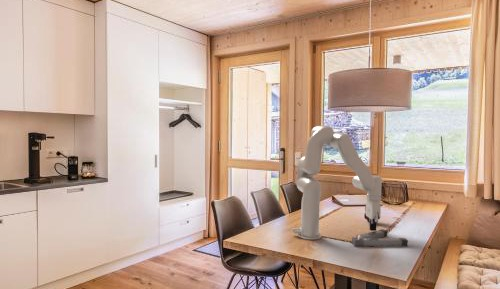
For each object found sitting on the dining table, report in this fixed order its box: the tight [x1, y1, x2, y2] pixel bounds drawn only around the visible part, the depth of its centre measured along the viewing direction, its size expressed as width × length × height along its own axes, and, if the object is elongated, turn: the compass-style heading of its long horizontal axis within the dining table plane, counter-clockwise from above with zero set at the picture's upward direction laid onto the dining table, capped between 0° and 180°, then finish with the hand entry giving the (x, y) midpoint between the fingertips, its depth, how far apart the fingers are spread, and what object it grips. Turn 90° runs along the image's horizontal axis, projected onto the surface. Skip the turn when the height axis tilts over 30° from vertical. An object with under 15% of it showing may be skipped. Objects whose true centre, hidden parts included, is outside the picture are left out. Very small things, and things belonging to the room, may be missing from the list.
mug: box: [363, 205, 370, 224], centre depth 214 cm, size 11×8×10 cm
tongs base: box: [351, 236, 409, 248], centre depth 174 cm, size 27×5×4 cm, turn 93°
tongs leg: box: [355, 228, 388, 238], centre depth 183 cm, size 22×3×3 cm, turn 123°
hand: (372, 230), depth 194 cm, fingers closed
